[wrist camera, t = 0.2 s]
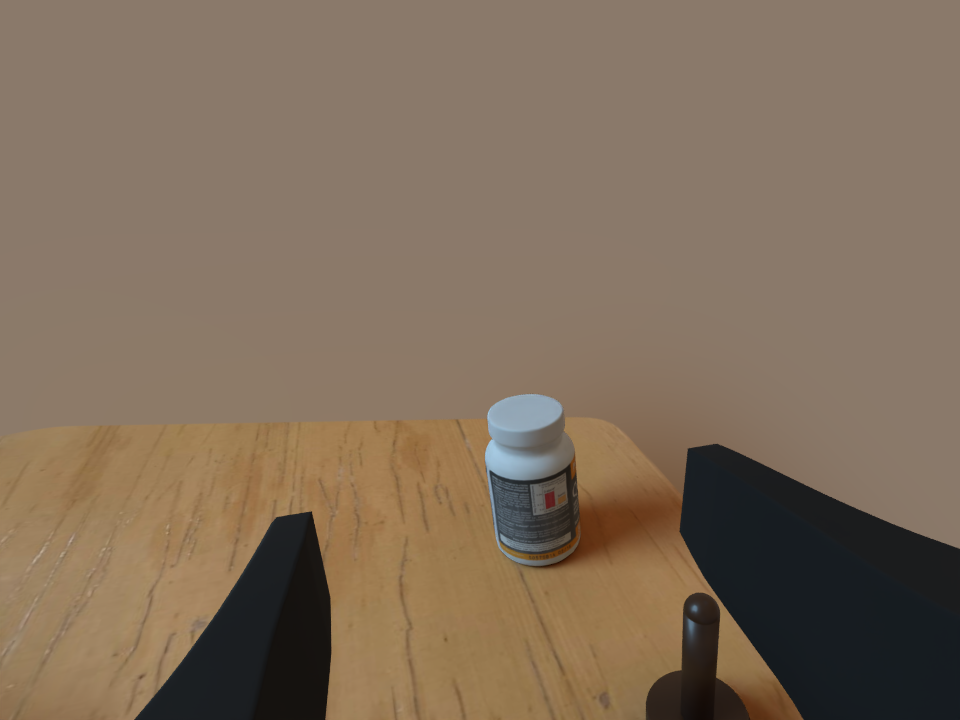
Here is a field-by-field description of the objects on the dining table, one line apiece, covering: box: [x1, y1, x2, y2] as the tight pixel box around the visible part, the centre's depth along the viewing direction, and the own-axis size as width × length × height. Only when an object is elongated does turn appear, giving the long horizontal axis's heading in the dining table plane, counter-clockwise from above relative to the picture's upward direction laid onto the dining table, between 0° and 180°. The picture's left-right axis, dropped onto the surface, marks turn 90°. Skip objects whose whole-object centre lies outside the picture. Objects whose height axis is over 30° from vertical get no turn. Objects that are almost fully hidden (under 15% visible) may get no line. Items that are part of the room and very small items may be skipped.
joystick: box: [646, 593, 750, 720], centre depth 26 cm, size 4×4×8 cm
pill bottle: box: [485, 394, 581, 566], centre depth 39 cm, size 6×6×10 cm
